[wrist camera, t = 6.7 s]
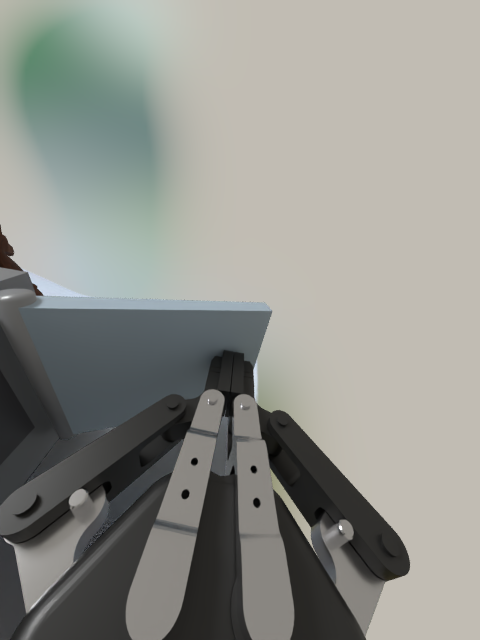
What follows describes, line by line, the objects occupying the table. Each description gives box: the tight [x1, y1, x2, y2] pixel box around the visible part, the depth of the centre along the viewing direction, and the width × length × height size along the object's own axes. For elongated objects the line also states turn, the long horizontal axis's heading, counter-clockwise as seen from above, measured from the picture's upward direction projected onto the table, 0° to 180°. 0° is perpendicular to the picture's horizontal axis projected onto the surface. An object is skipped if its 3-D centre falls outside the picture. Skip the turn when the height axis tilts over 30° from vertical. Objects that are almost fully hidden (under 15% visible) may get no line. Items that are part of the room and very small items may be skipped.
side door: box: [0, 289, 272, 440], centre depth 14 cm, size 2×14×11 cm, turn 109°
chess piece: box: [0, 225, 43, 296], centre depth 23 cm, size 5×5×10 cm
